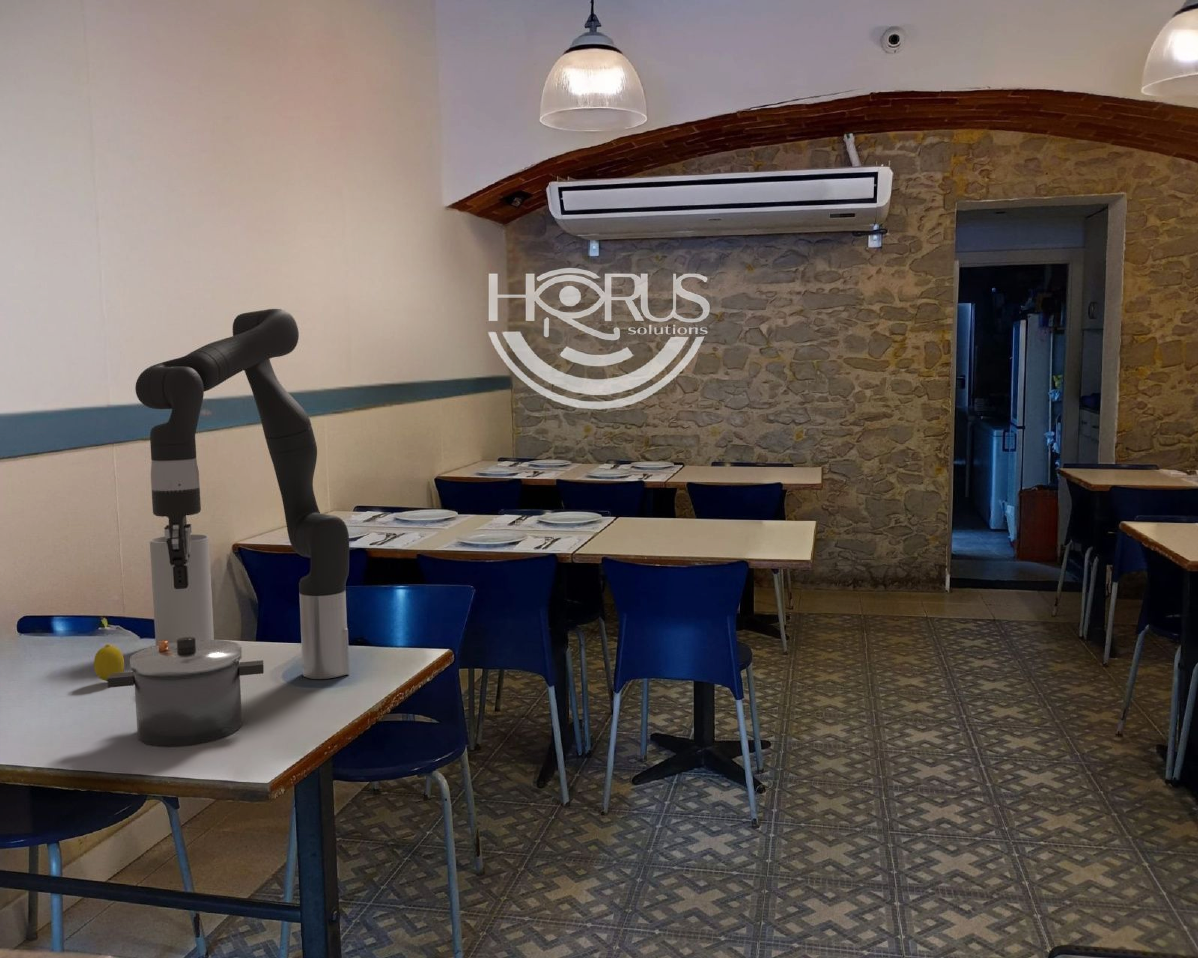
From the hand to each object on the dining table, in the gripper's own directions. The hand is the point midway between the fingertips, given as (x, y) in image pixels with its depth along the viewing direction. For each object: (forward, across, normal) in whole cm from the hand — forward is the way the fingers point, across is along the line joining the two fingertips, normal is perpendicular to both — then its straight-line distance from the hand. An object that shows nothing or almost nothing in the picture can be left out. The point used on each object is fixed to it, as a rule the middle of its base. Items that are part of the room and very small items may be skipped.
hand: (181, 587), depth 175 cm
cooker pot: (+26, +3, 0) cm, 26 cm away
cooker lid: (+13, +3, 0) cm, 14 cm away
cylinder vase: (+26, +66, +6) cm, 71 cm away
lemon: (+26, +39, +18) cm, 50 cm away
